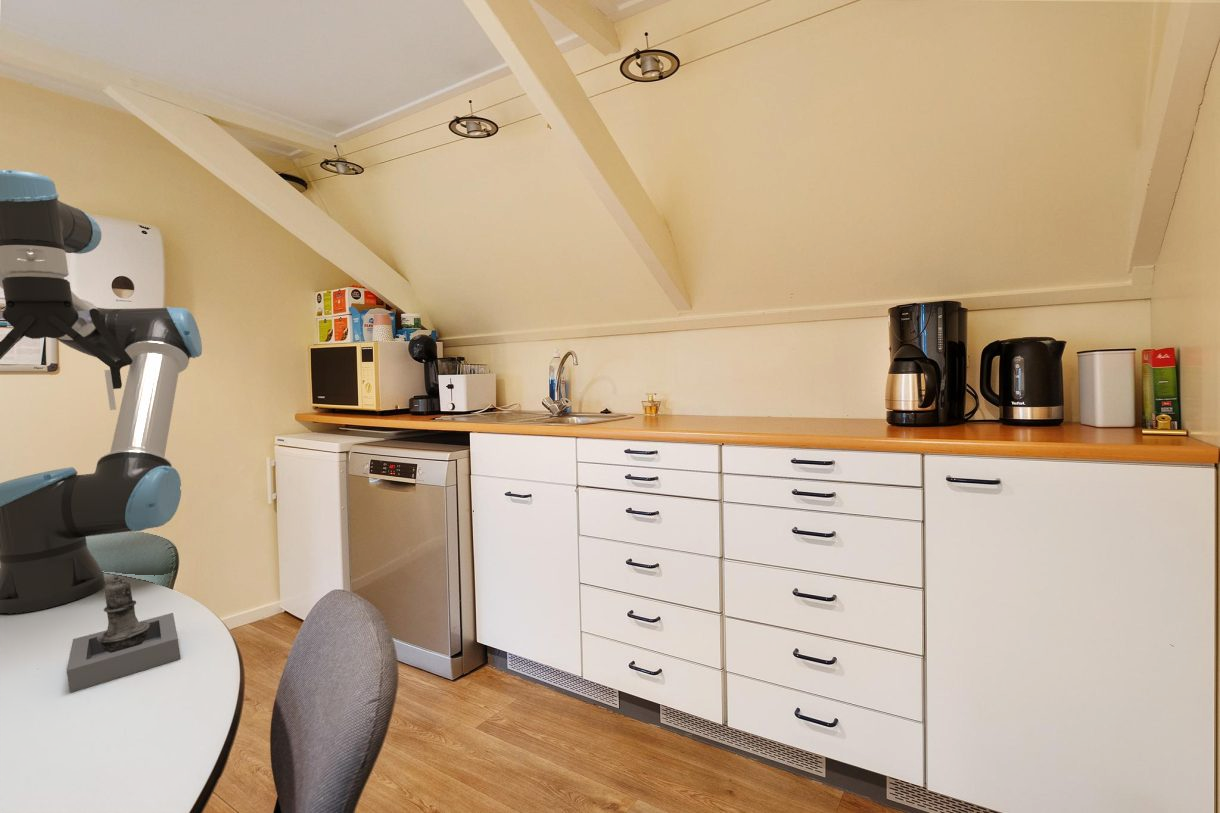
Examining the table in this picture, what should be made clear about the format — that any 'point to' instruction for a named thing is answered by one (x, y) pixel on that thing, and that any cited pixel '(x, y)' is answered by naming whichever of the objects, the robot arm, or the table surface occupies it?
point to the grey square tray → (121, 655)
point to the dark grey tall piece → (121, 618)
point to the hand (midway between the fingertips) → (57, 414)
